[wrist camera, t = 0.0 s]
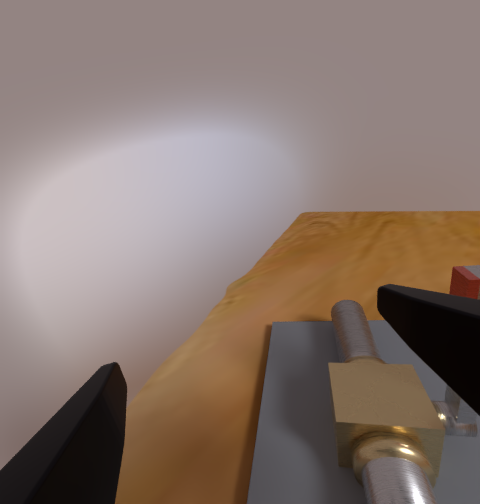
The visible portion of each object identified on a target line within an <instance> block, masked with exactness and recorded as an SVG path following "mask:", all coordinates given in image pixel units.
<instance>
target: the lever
mask: <svg viewBox="0 0 480 504" xmlns="http://www.w3.org/2000/svg"><path fill="white" fill-rule="evenodd" d="M449 294H450V295H456V296H462V297H468V298H473V299H479V300H480V265H476V266H458V267H453V269H452V277H451V285H450V293H449ZM431 402H432V404H433V406H434V408H435V410H436V412H437V414H438V416H439V418H440V420H441V422H442V424H443V426H444V428H445V435H449V436H462V437H476V436H477V433H478V429H477V423H476V416H477V413H476V412H475V411H474V410H473V409H472V408H471V407H470V406H469V405H468V404H467V403H466V402H464V401H463V400H462V399H461V398H460V397H459V396H458V395H457V394H456V393H455V392H454V391H453V390H452V389H451V388H450V387H449V386H448V385H446V392H445V399H444V401H431Z"/></svg>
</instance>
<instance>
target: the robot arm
mask: <svg viewBox="0 0 480 504" xmlns="http://www.w3.org/2000/svg"><path fill="white" fill-rule="evenodd" d="M377 308H378V311H379V313H380V314H381V315H382V317H383V318H384V319H385V320H386V321H387V322H388V324H389V325H390V326H391V327H392V328H393V329H394V331H395V332H396V333H397V334H398V335H399V336H400V338H401V339H402V340H403V341H404V342H405V343H406V344H407V346H408V347H409V348H410V349H411V350H412V351H413V352H414V353H415V354H416V355H417V356H418V357H419V358H420V359H421V360H422V361H423V362H424V363H425V364H426V365H427V366H429V367H430V368H431V369H432V370H433V371H434V372H435V373H436V374H437V375H438V376H439V377H440V378H441V379H442V380H443V381H444V382H445V383H446V384H447V385H448V386H449V387H450V388H451V389H452V390H453V391H454V392H455V393H456V394H457V395H458V396H459V397H460V398H461V399H462V400H463V401H464V402H466V403H467V404H468V405H469V406H470V407H471V408H472V409H473V410H474V411H475V412H476V413H477V414H478V415H479V416H480V300H479V299H473V298H468V297H462V296H456V295H450V294H445V293H439V292H433V291H428V290H422V289H416V288H410V287H405V286H399V285H393V284H387V285H384V286H380V287H379V288H378V291H377ZM126 401H127V384H126V381H125V378H124V376H123V374H122V371H121V369H120V366H119V365H118V363H116V362H113V363H110V364H106V365H103V366H101V367H100V368H99V369H98V371H96V373H95V374H94V375H93V376H92V377H91V378H90V379H89V380H88V381H87V382H86V383H85V384H84V385H83V386H82V387H81V388H80V389H79V390H78V391H77V392H76V393H75V394H74V395H73V396H72V397H71V398H70V399H69V400H68V401H67V402H66V403H65V405H64V406H63V407H62V408H61V409H60V410H59V411H58V412H57V413H56V414H55V415H54V416H53V417H52V418H51V419H50V420H49V421H48V422H47V423H46V424H45V425H44V426H43V427H42V428H41V429H40V430H39V431H38V432H37V433H36V434H35V435H34V436H33V437H32V438H31V439H30V440H29V442H28V443H27V444H26V445H25V446H24V447H23V448H22V449H21V450H20V451H19V452H18V453H17V454H16V455H15V456H14V457H13V458H12V459H11V460H10V461H9V462H8V463H7V464H6V465H5V466H4V467H3V468H2V469H1V470H0V504H115V498H116V492H117V486H118V479H119V473H120V467H121V461H122V454H123V448H124V439H125V422H126Z"/></svg>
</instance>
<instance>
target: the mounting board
mask: <svg viewBox="0 0 480 504" xmlns="http://www.w3.org/2000/svg"><path fill="white" fill-rule="evenodd" d="M368 323H369V326H370V329H371V331H372V334H373V336H374V339H375V341H376V344H377V347H378V349H379V352H380V354H381V357H382V359H383V361H385V362H386V363H387V364H412V365H413V367H414V369H415V371H416V373H417V375H418V377H419V379H420V381H421V383H422V385H423V387H424V389H425V391H426V393H427V395H428V397H429V398H430V400H431V401H444V399H445V392H446V385H447V384H446V383H445V382H444V381H443V380H442V379H441V378H440V377H439V376H438V375H437V374H436V373H435V372H434V371H433V370H432V369H431V368H430V367H429V366H427V365H426V364H425V363H424V362H423V361H422V360H421V359H420V358H419V357H418V356H417V355H416V354H415V353H414V352H413V351H412V350H411V349H410V348H409V347H408V346H407V344H406V343H405V342H404V341H403V340H402V339H401V338H400V336H399V335H398V334H397V333H396V332H395V331H394V329H393V328H392V327H391V326H390V325H389V324H388V322H387V321H386V320H376V321H368ZM328 363H340V360H339V354H338V349H337V344H336V339H335V333H334V328H333V323H332V321H305V322H273V324H272V331H271V338H270V345H269V352H268V359H267V366H266V373H265V380H264V387H263V394H262V401H261V408H260V415H259V422H258V429H257V436H256V443H255V450H254V457H253V464H252V471H251V478H250V485H249V492H248V499H247V504H367V503H366V497H365V492H364V488H363V487H362V486H361V485H360V484H359V483H358V482H357V480H356V478H355V475H354V469H353V468H346V467H339V466H338V458H337V450H336V442H335V434H334V426H333V418H332V410H331V401H330V384H329V368H328ZM476 423H477V429H478V433H477V436H476V437H462V436H449V435H445V436H444V443H443V450H442V456H441V463H440V470H439V476H438V478H436V484H435V486H434V488H433V491H434V494H435V496H436V499H437V501H438V504H480V416H479V415H478V414H477V416H476Z"/></svg>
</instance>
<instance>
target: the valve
mask: <svg viewBox="0 0 480 504" xmlns="http://www.w3.org/2000/svg"><path fill="white" fill-rule="evenodd" d="M331 317H332V323H333V328H334V333H335V339H336V344H337V349H338V354H339V360H340V363H328V368H329V384H330V401H331V410H332V418H333V426H334V434H335V442H336V450H337V458H338V466H339V467H346V468H353V469H354V475H355V478H356V480H357V482H358V483H359V484H360V485H361V486H362V487H363V488H364V492H365V497H366V503H367V504H438V501H437V499H436V496H435V494H434V491H433V488H434V486H435V484H436V478H438V476H439V470H440V463H441V456H442V450H443V443H444V436H445V428H444V426H443V424H442V422H441V420H440V418H439V416H438V414H437V412H436V410H435V408H434V406H433V404H432V402H431V400H430V398H429V397H428V395H427V393H426V391H425V389H424V387H423V385H422V383H421V381H420V379H419V377H418V375H417V373H416V371H415V369H414V367H413V365H412V364H387V363H386V362H385V361H383V359H382V357H381V354H380V352H379V349H378V347H377V344H376V341H375V339H374V336H373V334H372V331H371V329H370V326H369V323H368V321H367V318H366V316H365V313H364V310H363V308H362V306H361V305H360V304H359V303H357V302H355V301H352V300H343V301H340V302H338V303H336V304H335V305H334V306H333V307H332V309H331Z"/></svg>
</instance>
